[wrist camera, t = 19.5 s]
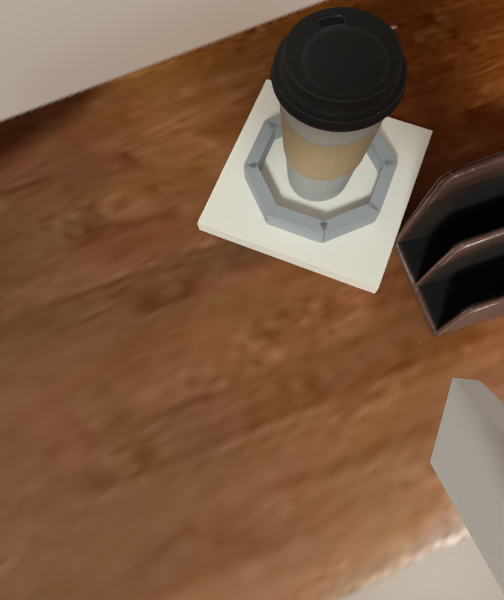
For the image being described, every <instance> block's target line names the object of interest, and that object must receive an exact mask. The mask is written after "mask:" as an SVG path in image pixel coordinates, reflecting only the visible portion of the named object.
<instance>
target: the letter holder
mask: <svg viewBox="0 0 504 600" xmlns="http://www.w3.org/2000/svg"><path fill="white" fill-rule="evenodd" d="M394 248H395V250H396V252H397V255H398V257H399V259H400V262H401V264H402V267H403V269H404V271H405V273H406V275H407V278H408V280H409V282H410V285H411V287H412V289H413V291H414V294H415V296H416V299H417V301H418V303H419V305H420V308H421V310H422V312H423V314H424V317H425V319H426V320H427V323H428V325H429V328H430V330H431V332H432V334H433V336H438V335H440V334H444V333H447V332H450V331H453V330H456V329H460V328H463V327H466V326H469V325H473V324H475V323H479V322H482V321H485V320H488V319H492V318H495V317H498V316H501V315H504V151H502V152H498V153H495V154H493V155H490V156H487V157H485V158H482V159H479V160H476V161H473V162H470V163H467V164H464V165H461V166H459V167H457V168H454V169H452V170H450V171H448V172H446V173H445V174H444V175H442V176H441V177H440V178H439V179H438V180H437V181H436V182H435V184H434V185H433V187H432V188H431V189H430V190H429V192H428V193H427V194H426V196H425V197H424V198H423V200H422V201H421V202H420V204H419V205H418V207H417V208H416V210H415V211H414V213H413V214H412V216H411V217H410V218H409V220H408V221H407V222H406V224H405V225H404V227H403V228H402V230H401V231H400V233H399V234H398V235H397V236H396V239H395V242H394Z"/></svg>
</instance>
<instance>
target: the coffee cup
mask: <svg viewBox="0 0 504 600" xmlns="http://www.w3.org/2000/svg"><path fill="white" fill-rule="evenodd" d="M406 78H407V64H406V60H405V56H404V54H403V51H402V48H401V44H400V41H399V39H398V37H397V35H396V34H395V32H394V31H393V30H392V28H391V27H390V26H389V25H388V24H387V23H385V22H384V21H383V20H382V19H380V18H378V17H377V16H375V15H373V14H371V13H369V12H366V11H363V10H359V9H355V8H347V7H336V8H328V9H323V10H320V11H317V12H314V13H312V14H310V15H308V16H307V17H305V18H303V19H302V20H301V21H300V22H298V23H297V24H296V25H295V26H294V28H293V29H292V30H291V32H290V33H289V34H288V35H287V36H286V37H285V38H284V40H283V41H282V42H281V44H280V46H279V47H278V49H277V52H276V54H275V58H274V62H273V65H272V71H271V81H272V87H273V90H274V93H275V95H276V97H277V99H278V101H279V102H280V116H281V126H282V137H283V148H284V152H285V156H286V163H287V173H288V179H289V183H290V185H291V187H292V189H293V190H294V192H295V193H296V194H297V195H298V196H300V197H301V198H303V199H305V200H308V201H313V202H321V201H326V200H329V199H332V198H334V197H336V196H337V195H339V194H340V193H341V192H342V191H343V189H344V188H345V187H346V185H347V183H348V181H349V179H350V177H351V176H352V174H353V172H354V170H355V169H356V168H357V166H358V165H359V164H360V163H361V161H362V159H363V157H364V155H365V154H366V152H367V150H368V148H369V146H370V144H371V143H372V141H373V139H374V137H375V135H376V134H377V132H378V130H379V128H380V126H381V124H382V122H383V119H385V118H386V117H387V116H389V115H390V114H391V113H392V112H393V111H394V109H395V108H396V107H397V105H398V104H399V102H400V101H401V99H402V96H403V94H404V91H405V86H406Z"/></svg>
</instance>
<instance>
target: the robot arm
mask: <svg viewBox="0 0 504 600" xmlns="http://www.w3.org/2000/svg"><path fill="white" fill-rule="evenodd" d="M430 463H431V465H432V467H433V469H434V471H435V472H436V474H437V476H438V478H439V479H440V481H441V483H442V485H443V487H444V488H445V490H446V492H447V494H448V495H449V497H450V499H451V501H452V503H453V504H454V506H455V508H456V510H457V511H458V513H459V515H460V517H461V519H462V520H463V522H464V524H465V526H466V527H467V529H468V531H469V533H470V535H471V536H472V538H473V540H474V542H475V543H476V545H477V547H478V549H479V550H480V552H481V554H482V556H483V557H484V559H485V561H486V563H487V565H488V566H489V568H490V570H491V572H492V574H493V575H494V577H495V579H496V581H497V582H498V584H499V586H500V588H501V590H502V591H503V593H504V404H503V403H502V402H501V401H500V400H499V399H498V398H497V397H496V396H495V395H494V394H493V393H492V392H491V391H490V390H489V389H488V388H487V387H486V386H485V385H484V384H483V383H482V382H481V381H476V380H468V379H460V378H453V379H452V382H451V386H450V390H449V394H448V397H447V401H446V405H445V409H444V412H443V416H442V420H441V424H440V427H439V431H438V435H437V439H436V442H435V446H434V450H433V454H432V457H431V461H430Z"/></svg>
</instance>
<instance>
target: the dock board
mask: <svg viewBox="0 0 504 600" xmlns="http://www.w3.org/2000/svg"><path fill="white" fill-rule="evenodd" d="M432 132H433V131H432V130H428V129H425V128H422V127H419V126H416V125H412V124H409V123H406V122H403V121H399V120H396V119H393V118H390V117H386V118H385V119H383V122H382V124H381V126H380V128H379V130H378V132H377V134H376V135H375V137H374V139H373V141H372V143H371V144H370V146H369V148H368V150H367V152H366V154H365V155H364V157H363V159H362V161H361V163H360V164H359V165H358V166H357V168H356V169H355V170H354V172H353V174H352V176H351V177H350V179H349V181H348V183H347V185H346V187H345V188H344V189H343V191H342V192H341V193H340V194H339V195H337V196H336V197H334V198H332V199H329V200H326V201H321V202H313V201H308V200H305V199H303V198H301V197H300V196H298V195H297V194H296V193H295V192H294V190H293V189H292V187H291V185H290V183H289V179H288V173H287V163H286V156H285V152H284V148H283V137H282V126H281V116H280V102H279V101H278V99H277V97H276V95H275V93H274V90H273V87H272V81H270V80H266V82H265V84H264V86H263V88H262V90H261V92H260V94H259V96H258V98H257V100H256V102H255V105H254V107H253V109H252V111H251V113H250V115H249V117H248V119H247V121H246V123H245V125H244V127H243V129H242V131H241V134H240V136H239V138H238V140H237V142H236V144H235V146H234V148H233V150H232V152H231V154H230V156H229V158H228V161H227V163H226V165H225V167H224V169H223V171H222V173H221V175H220V177H219V179H218V181H217V183H216V185H215V187H214V190H213V192H212V194H211V196H210V198H209V200H208V202H207V204H206V206H205V208H204V210H203V212H202V214H201V217H200V219H199V221H198V226H199V229H200V230H202V231H205V232H207V233H210V234H213V235H215V236H218V237H221V238H224V239H226V240H229V241H232V242H235V243H237V244H240V245H243V246H246V247H248V248H251V249H254V250H257V251H259V252H262V253H265V254H267V255H270V256H273V257H276V258H278V259H281V260H284V261H287V262H289V263H292V264H295V265H298V266H300V267H303V268H306V269H309V270H311V271H314V272H317V273H319V274H322V275H325V276H328V277H330V278H333V279H336V280H339V281H341V282H344V283H347V284H350V285H352V286H355V287H358V288H361V289H363V290H366V291H369V292H372V293H374V294H375V292H376V291H377V290H378V288H379V285H380V283H381V280H382V277H383V274H384V271H385V268H386V265H387V262H388V259H389V256H390V253H391V251H392V248H393V245H394V242H395V239H396V236H397V233H398V230H399V227H400V224H401V222H402V219H403V216H404V213H405V210H406V207H407V204H408V201H409V198H410V195H411V193H412V190H413V187H414V184H415V181H416V178H417V175H418V172H419V169H420V166H421V163H422V161H423V158H424V155H425V152H426V149H427V146H428V143H429V140H430V137H431V134H432Z"/></svg>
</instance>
